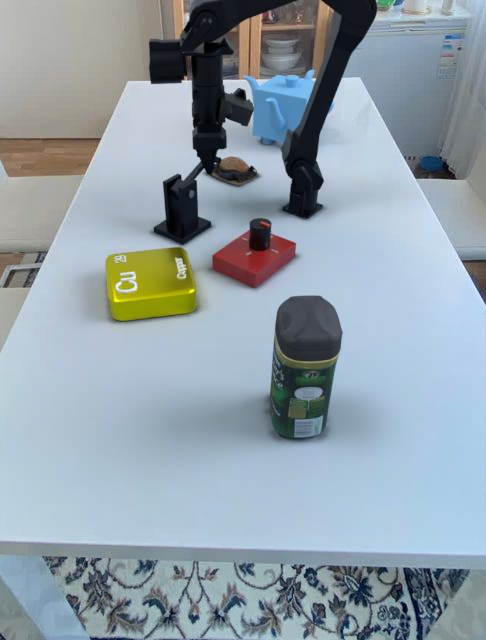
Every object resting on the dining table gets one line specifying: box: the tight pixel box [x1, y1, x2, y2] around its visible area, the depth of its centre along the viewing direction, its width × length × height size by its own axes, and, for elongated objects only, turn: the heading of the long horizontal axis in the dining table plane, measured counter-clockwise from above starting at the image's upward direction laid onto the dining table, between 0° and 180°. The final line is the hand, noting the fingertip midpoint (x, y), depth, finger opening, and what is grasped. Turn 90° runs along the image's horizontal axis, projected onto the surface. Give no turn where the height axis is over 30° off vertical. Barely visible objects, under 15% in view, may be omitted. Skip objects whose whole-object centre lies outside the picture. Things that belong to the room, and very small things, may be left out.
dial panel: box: [211, 229, 297, 289], centre depth 106 cm, size 13×10×3 cm
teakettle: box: [242, 69, 335, 145], centre depth 140 cm, size 19×19×15 cm
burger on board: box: [210, 155, 260, 187], centre depth 131 cm, size 11×8×4 cm
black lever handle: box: [170, 153, 222, 200], centre depth 111 cm, size 12×6×2 cm, turn 140°
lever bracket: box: [152, 173, 212, 246], centre depth 112 cm, size 9×8×10 cm
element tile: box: [104, 246, 198, 322], centre depth 100 cm, size 15×15×5 cm
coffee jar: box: [269, 295, 344, 439], centre depth 74 cm, size 10×8×19 cm
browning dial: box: [248, 217, 273, 251], centre depth 104 cm, size 4×4×5 cm
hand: (209, 167), depth 114 cm, fingers open, 6 cm apart
